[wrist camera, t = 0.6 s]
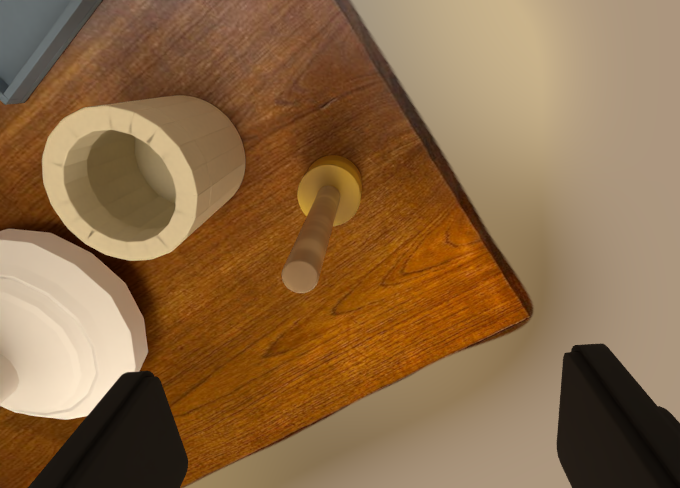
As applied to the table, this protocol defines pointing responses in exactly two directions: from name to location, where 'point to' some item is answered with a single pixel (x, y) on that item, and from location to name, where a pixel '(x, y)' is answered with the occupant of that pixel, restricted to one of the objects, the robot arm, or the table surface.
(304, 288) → the brush
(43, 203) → the table surface
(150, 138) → the jar
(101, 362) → the candle holder
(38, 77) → the tray
